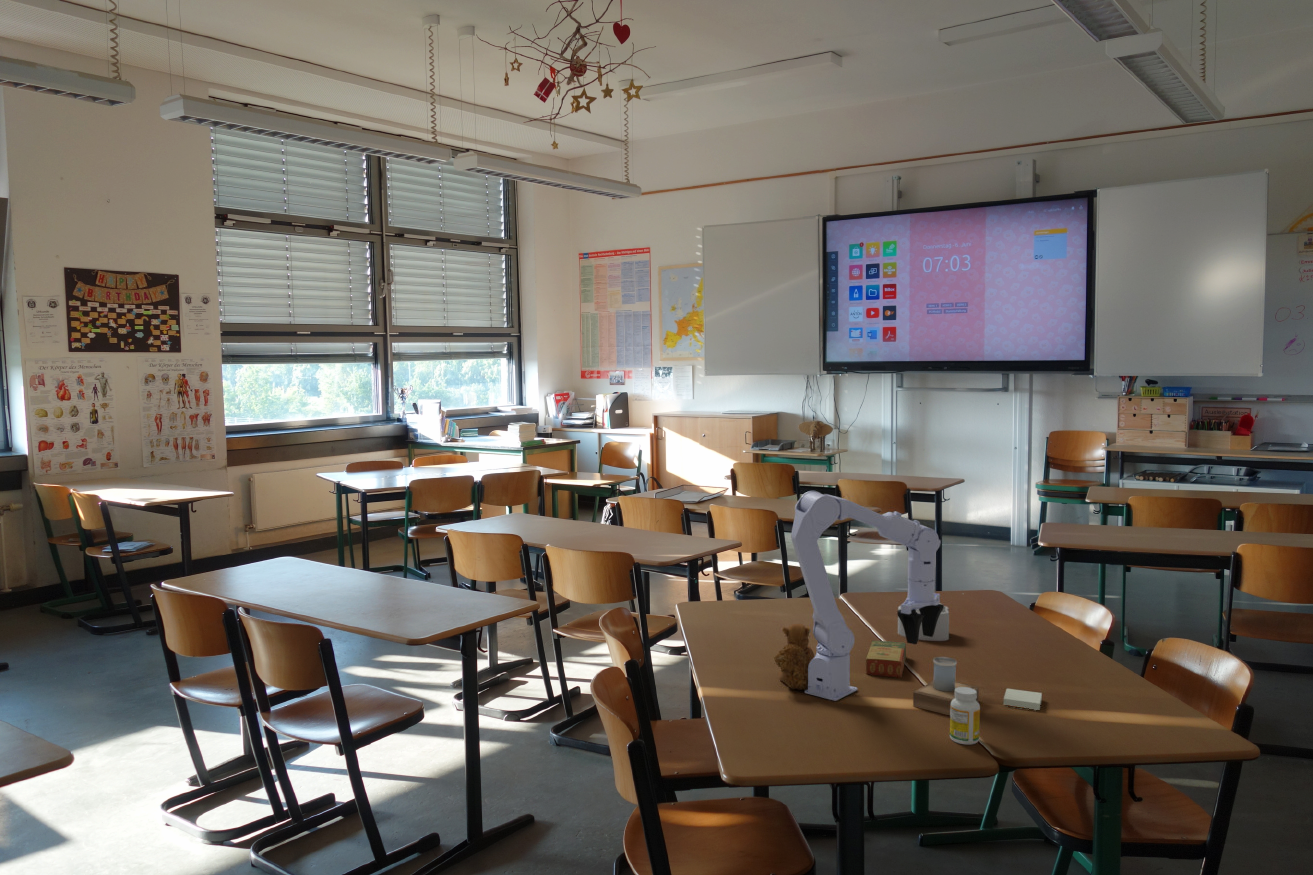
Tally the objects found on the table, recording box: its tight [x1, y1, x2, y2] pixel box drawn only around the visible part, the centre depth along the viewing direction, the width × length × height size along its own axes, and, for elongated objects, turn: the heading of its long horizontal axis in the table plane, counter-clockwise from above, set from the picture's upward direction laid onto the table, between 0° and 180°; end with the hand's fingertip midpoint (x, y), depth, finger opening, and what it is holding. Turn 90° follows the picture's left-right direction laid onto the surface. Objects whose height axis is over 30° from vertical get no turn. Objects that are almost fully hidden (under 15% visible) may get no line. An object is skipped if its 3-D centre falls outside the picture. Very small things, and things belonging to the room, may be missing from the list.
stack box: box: [912, 680, 980, 716], centre depth 196 cm, size 12×9×3 cm
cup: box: [932, 656, 958, 692], centre depth 196 cm, size 5×5×6 cm
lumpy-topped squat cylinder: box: [897, 602, 950, 642], centre depth 248 cm, size 10×13×9 cm
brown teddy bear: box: [773, 623, 815, 691], centre depth 209 cm, size 10×14×13 cm
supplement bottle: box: [949, 687, 981, 746], centre depth 177 cm, size 5×5×10 cm
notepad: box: [1003, 688, 1043, 711], centre depth 197 cm, size 7×7×2 cm
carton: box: [865, 640, 907, 678], centre depth 222 cm, size 8×16×4 cm, turn 162°
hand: (920, 639), depth 207 cm, fingers open, 7 cm apart
